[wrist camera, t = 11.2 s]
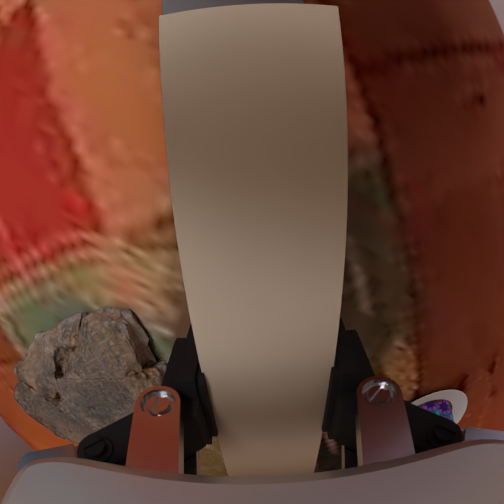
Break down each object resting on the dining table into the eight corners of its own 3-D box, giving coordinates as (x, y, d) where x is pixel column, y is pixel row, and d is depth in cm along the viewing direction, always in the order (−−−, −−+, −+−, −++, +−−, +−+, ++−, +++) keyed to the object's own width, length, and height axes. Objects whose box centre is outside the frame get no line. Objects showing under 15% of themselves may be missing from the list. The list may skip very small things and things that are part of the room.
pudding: (350, 429, 26) (360, 470, 21) (455, 365, 23) (479, 402, 18) (387, 463, 29) (396, 495, 25) (470, 414, 27) (486, 444, 22)
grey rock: (69, 429, 28) (212, 419, 25) (54, 457, 24) (204, 462, 21) (-2, 337, 24) (129, 290, 21) (-27, 362, 19) (99, 328, 16)
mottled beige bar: (200, 61, 9) (159, 16, 5) (302, 56, 9) (337, 6, 4) (242, 442, 17) (239, 510, 12) (298, 440, 17) (304, 508, 12)
